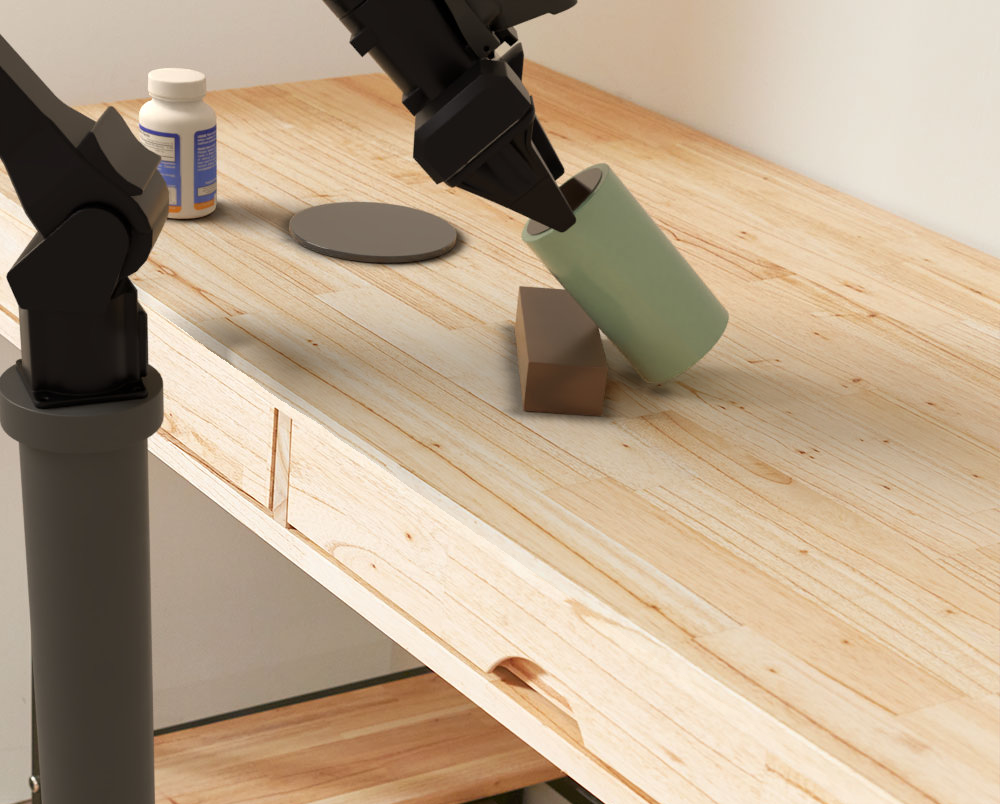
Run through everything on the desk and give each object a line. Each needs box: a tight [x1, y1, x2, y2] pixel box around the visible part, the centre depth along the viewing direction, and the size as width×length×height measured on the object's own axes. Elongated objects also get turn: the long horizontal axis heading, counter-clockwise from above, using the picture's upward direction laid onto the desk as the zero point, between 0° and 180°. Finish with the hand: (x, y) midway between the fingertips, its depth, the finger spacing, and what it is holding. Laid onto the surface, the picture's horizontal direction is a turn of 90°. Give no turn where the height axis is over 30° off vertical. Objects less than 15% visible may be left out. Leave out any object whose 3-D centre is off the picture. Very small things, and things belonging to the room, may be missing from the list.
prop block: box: [514, 285, 609, 417], centre depth 91 cm, size 4×12×3 cm, turn 2°
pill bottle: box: [138, 67, 218, 220], centre depth 110 cm, size 5×5×10 cm
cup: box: [520, 162, 730, 384], centre depth 89 cm, size 13×6×13 cm, turn 92°
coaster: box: [288, 201, 457, 264], centre depth 111 cm, size 12×12×1 cm
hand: (564, 200), depth 87 cm, fingers open, 9 cm apart
